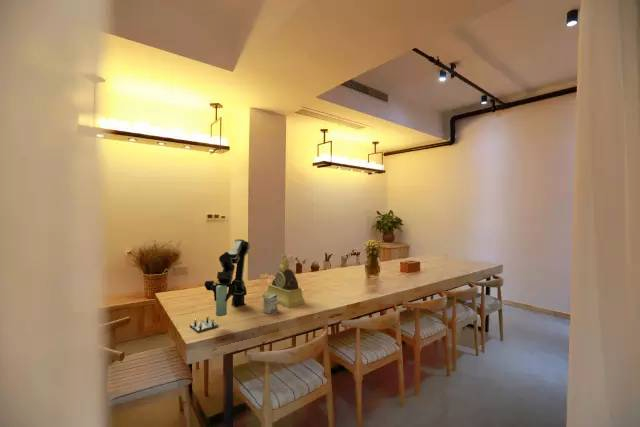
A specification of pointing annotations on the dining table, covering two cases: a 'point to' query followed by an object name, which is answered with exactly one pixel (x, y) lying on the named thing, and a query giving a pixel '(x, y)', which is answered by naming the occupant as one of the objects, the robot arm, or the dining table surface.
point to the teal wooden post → (221, 300)
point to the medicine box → (270, 303)
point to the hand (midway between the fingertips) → (220, 301)
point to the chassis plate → (203, 325)
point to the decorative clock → (285, 287)
